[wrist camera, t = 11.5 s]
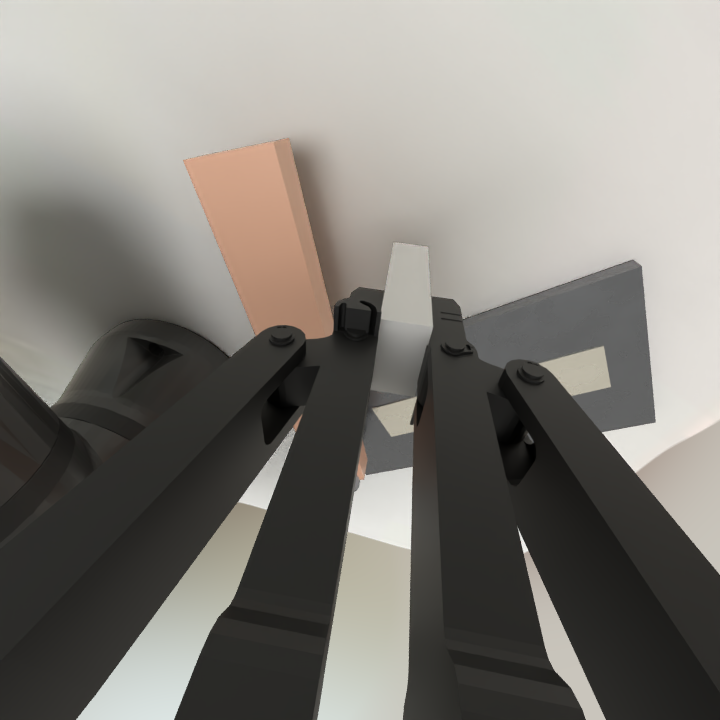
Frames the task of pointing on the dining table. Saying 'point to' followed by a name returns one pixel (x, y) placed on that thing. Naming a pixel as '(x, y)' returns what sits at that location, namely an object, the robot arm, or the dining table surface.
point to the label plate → (549, 357)
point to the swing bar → (266, 239)
